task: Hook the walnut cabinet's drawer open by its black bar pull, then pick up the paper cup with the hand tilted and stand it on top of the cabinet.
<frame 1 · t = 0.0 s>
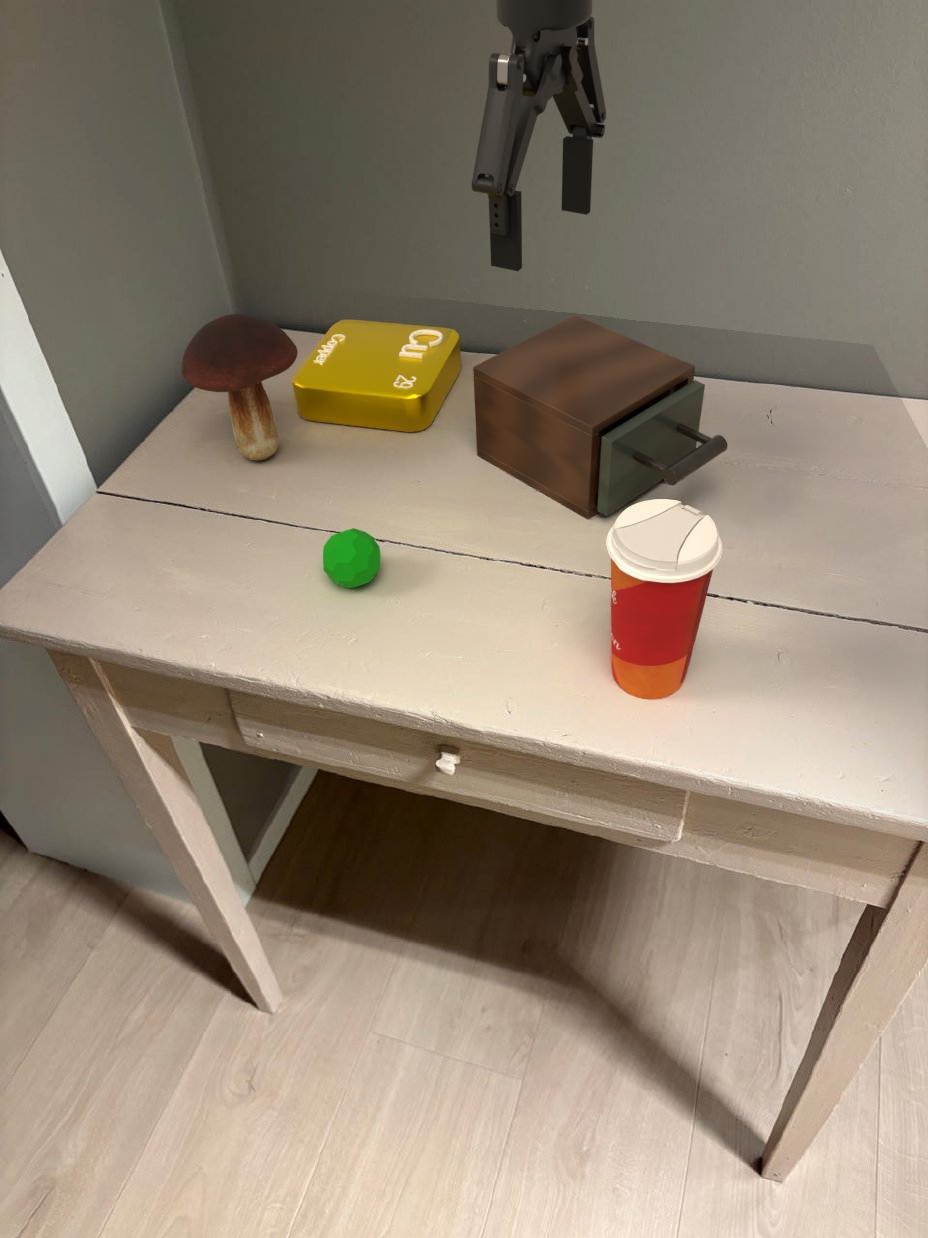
hand: (542, 238, 88), 18 cm above the table, tool pointing down, fingers open, 13 cm apart
element tile: (382, 392, 105), on the table
decorative mushroom: (262, 456, 97), on the table
paper cup: (647, 674, 73), on the table
cabinet: (579, 455, 94), on the table
drawer: (619, 431, 88), point 5 cm above the table, slide at 0.5 cm
polyhedron: (355, 580, 83), on the table
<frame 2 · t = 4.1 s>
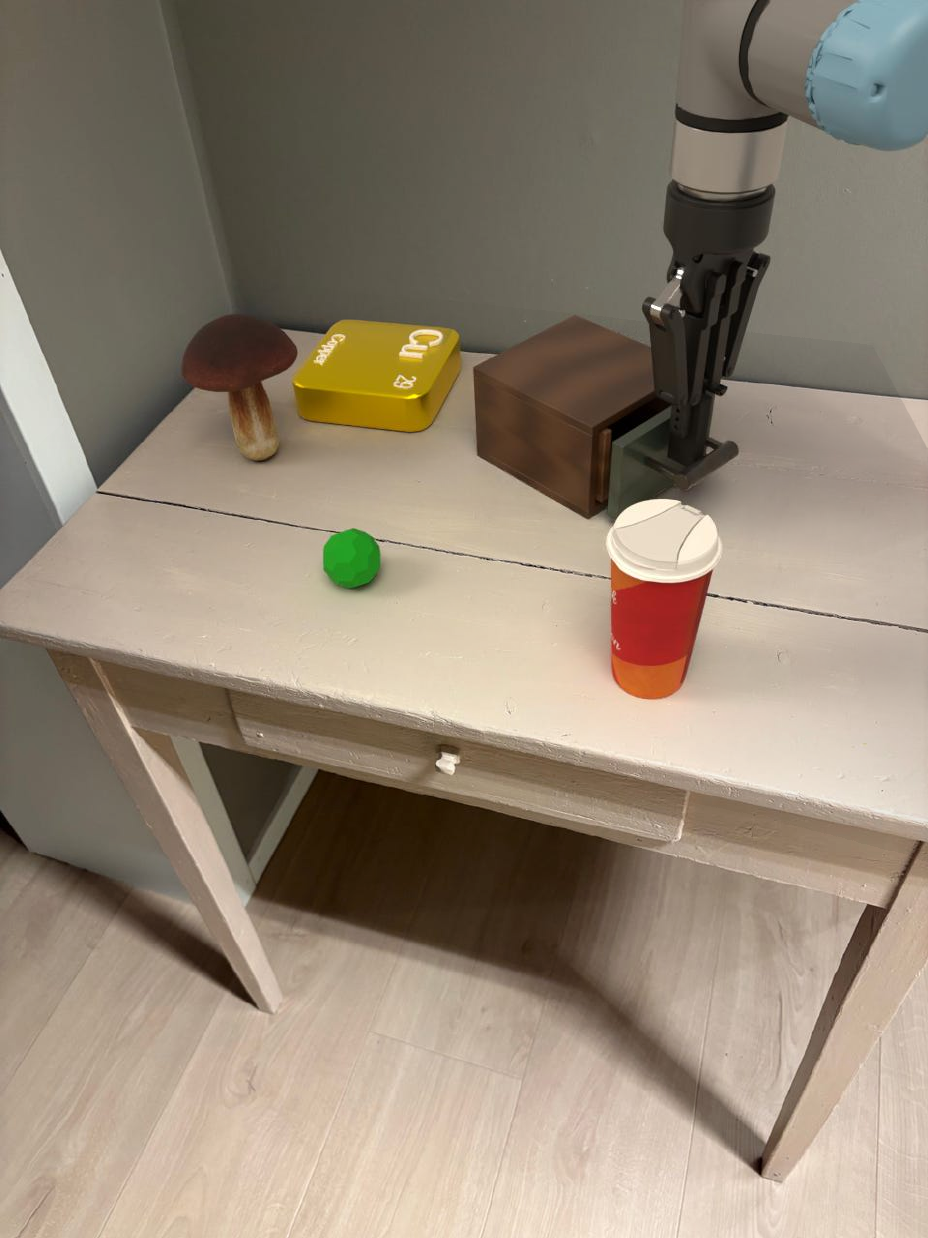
hand: (684, 459, 84), 5 cm above the table, tool pointing down, fingers closed
drawer: (629, 436, 88), point 5 cm above the table, slide at 1.7 cm, touching gripper
everything else where it was.
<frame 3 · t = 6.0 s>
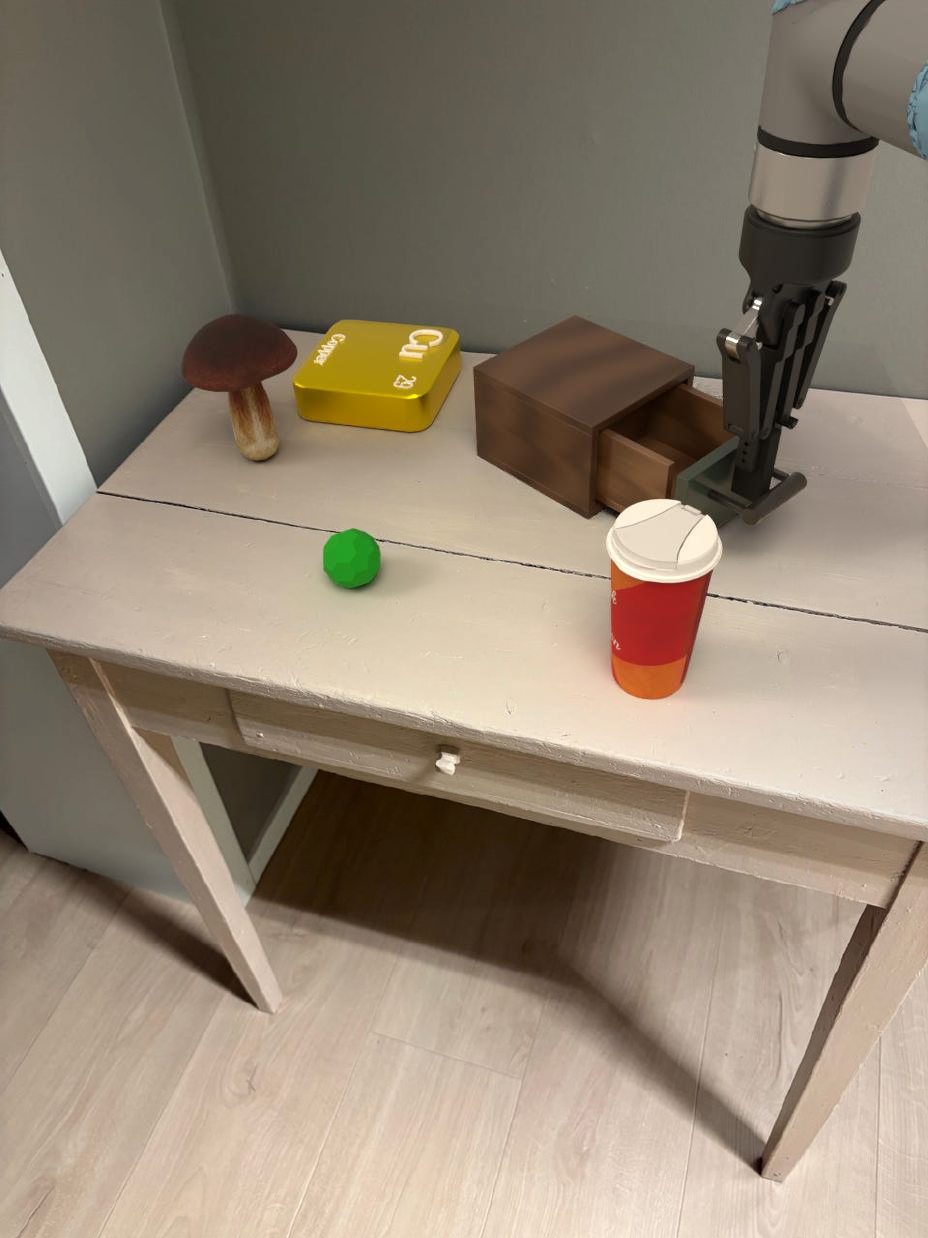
hand: (749, 493, 80), 5 cm above the table, tool pointing down, fingers closed
drawer: (689, 466, 84), point 5 cm above the table, slide at 8.5 cm
everything else where it was.
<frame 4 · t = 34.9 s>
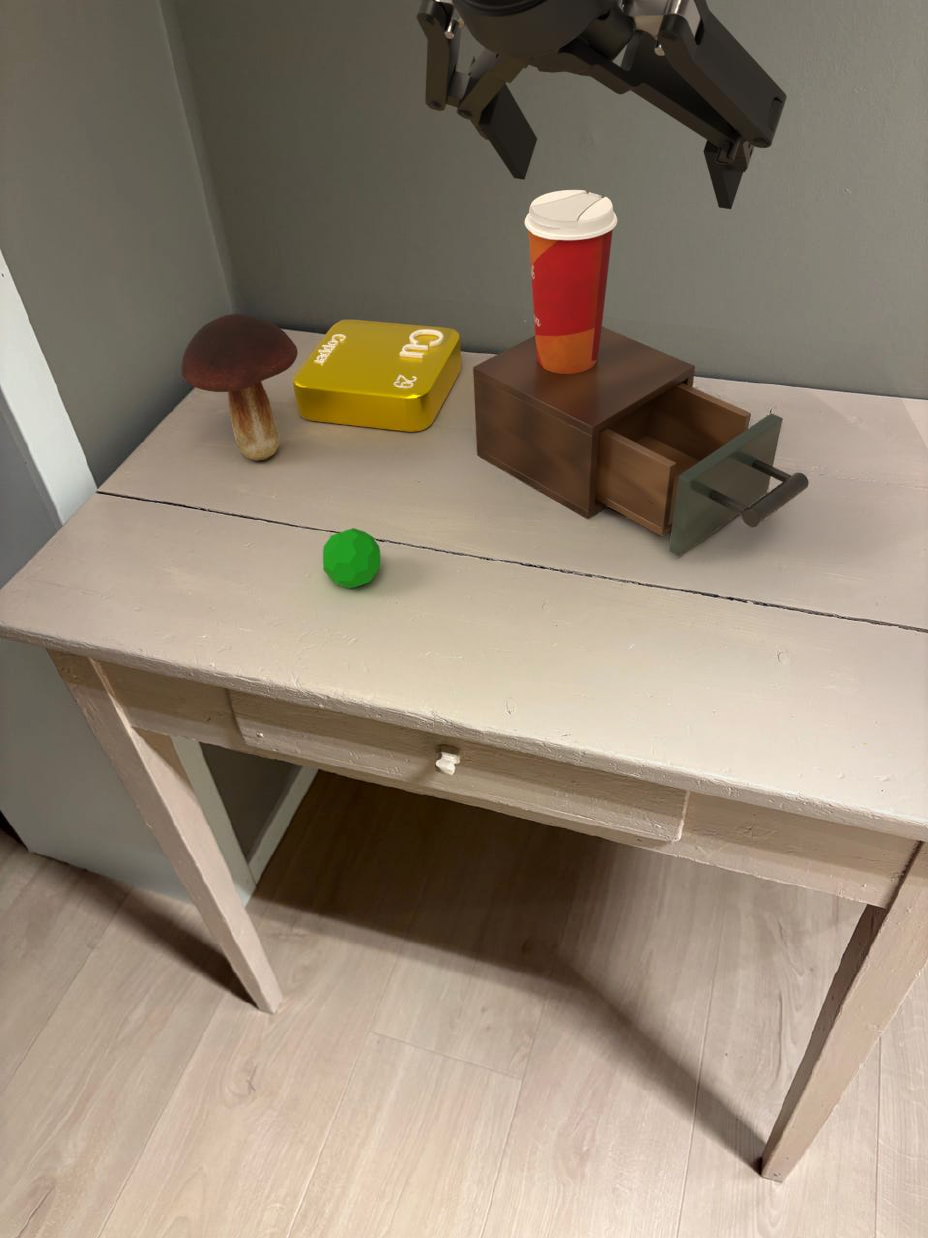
hand: (624, 172, 59), 33 cm above the table, tool tilted 45°, fingers open, 13 cm apart
paper cup: (566, 360, 89), point 10 cm above the table, touching cabinet
everything else where it was.
at the end: drawer slide at 8.6 cm; paper cup inside the target area on the cabinet (1.9 cm from its centre), point 9.6 cm above the cabinet's base; paper cup tilted 0° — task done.
